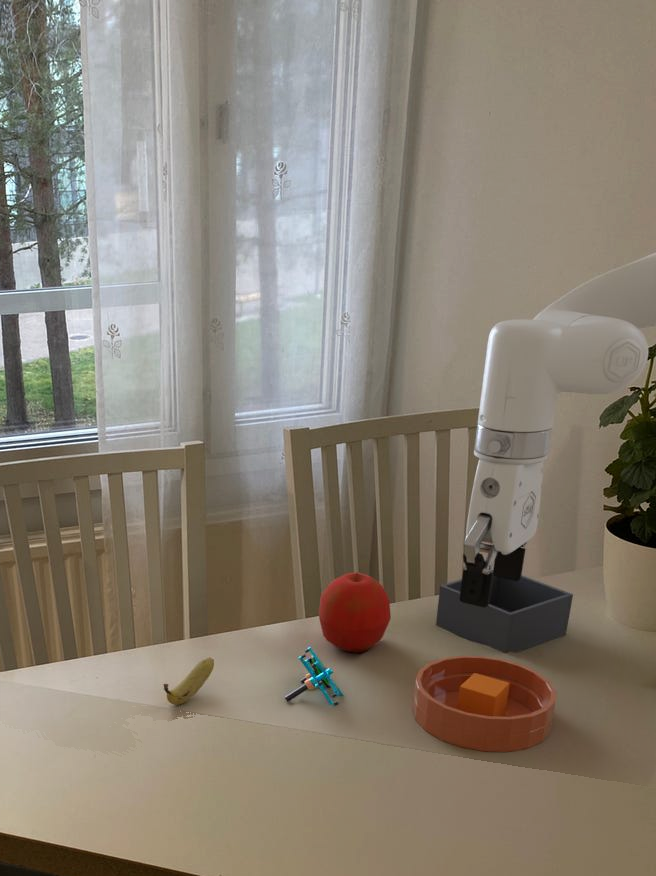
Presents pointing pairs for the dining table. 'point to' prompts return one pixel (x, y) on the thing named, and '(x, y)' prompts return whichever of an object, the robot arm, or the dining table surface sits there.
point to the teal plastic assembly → (315, 678)
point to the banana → (190, 683)
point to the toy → (483, 696)
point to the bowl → (511, 732)
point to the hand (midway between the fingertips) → (490, 590)
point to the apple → (354, 612)
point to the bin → (507, 614)
